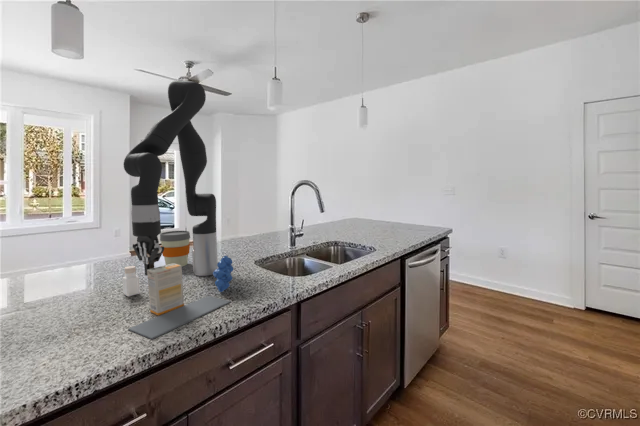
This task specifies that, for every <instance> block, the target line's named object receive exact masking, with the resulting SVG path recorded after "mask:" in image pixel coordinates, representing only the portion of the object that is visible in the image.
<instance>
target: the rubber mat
mask: <svg viewBox="0 0 640 426" xmlns="http://www.w3.org/2000/svg"><path fill="white" fill-rule="evenodd" d="M230 303H231V300H229V299H224V298H220V297H216V296H212V295H207V296H204V297H201V298H199V299H197V300H194V301H192V302H190V303H187V304H184V306H182V307H180V308H177V309H175V310H172V311H169V312H166V313H164V314H161V315H159V316H158V315H157V316H155V317H153V318H151V319H149V320H146V321H143V322H141V323H138V324H136V325H134V326H131V327H129V328H128V331H130V332H132V333H135V334H137V335H140V336H142V337H145V338H147V339H150V340H154V339H156V338H158V337H161V336H163V335H165V334H167V333H169V332H171V331H173V330H175V329H177V328H180V327H181V326H183V325H185V324H188V323H190V322H192V321H194V320H196V319H199V318H201V317H203V316H205V315H207V314H209V313H211V312H213V311H215V309H216V310H217V308H218V309H220V308H221V307H224V306H227V305H228V304H230ZM219 307H220V308H219Z"/></svg>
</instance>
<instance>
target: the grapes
mask: <svg viewBox="0 0 640 426" xmlns="http://www.w3.org/2000/svg"><path fill="white" fill-rule="evenodd" d="M232 264H233V260H232V258H231V257H229V256H228V255H224V256H223V257H222V258H221V259H220V260H219V261H218V264H217V266H218V269H216V270H215V271H214V272H213V277H214V278H216V280H214V281H215V282H214V285H215V286H216V288H217V290H218V292H220V293H223V292H224V291H226V290H228V288H229V287H230V285H231V284H230V282H232V280H233V275H232V272H233V271H234V270H235V267H234V266H233V265H232Z"/></svg>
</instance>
